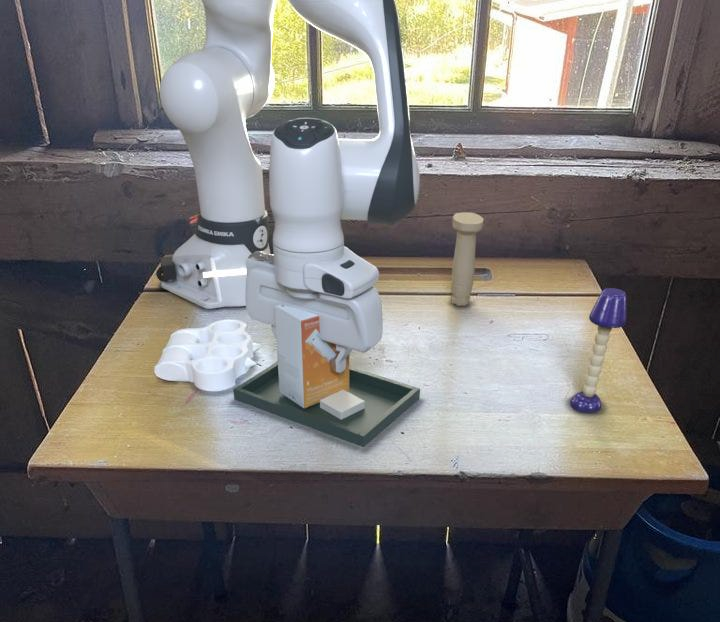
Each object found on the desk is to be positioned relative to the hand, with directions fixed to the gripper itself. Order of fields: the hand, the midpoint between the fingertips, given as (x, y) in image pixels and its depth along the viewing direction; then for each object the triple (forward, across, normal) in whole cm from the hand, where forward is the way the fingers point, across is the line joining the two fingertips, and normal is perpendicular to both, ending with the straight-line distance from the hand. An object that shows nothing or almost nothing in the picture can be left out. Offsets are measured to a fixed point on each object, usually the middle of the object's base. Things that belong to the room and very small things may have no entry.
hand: (313, 362), depth 100 cm
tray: (+6, +2, 0) cm, 6 cm away
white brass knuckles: (+6, -19, -1) cm, 20 cm away
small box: (+5, 0, 0) cm, 5 cm away
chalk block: (+5, +5, -1) cm, 7 cm away
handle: (+6, +2, +41) cm, 42 cm away
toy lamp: (+6, +33, +20) cm, 39 cm away
